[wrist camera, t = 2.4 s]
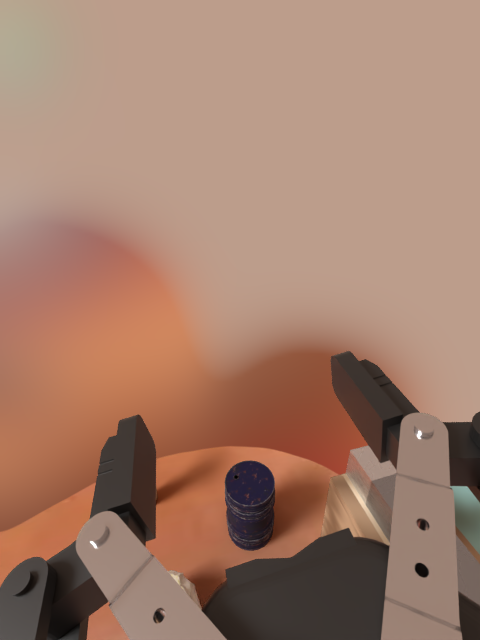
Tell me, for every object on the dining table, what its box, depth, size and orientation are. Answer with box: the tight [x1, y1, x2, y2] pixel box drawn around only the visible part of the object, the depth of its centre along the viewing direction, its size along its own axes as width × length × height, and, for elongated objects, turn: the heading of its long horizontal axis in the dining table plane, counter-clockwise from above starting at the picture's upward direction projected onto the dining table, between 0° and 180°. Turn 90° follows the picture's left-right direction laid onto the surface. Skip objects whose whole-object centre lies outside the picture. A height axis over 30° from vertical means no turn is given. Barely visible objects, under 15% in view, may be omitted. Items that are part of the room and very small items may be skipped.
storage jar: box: [225, 461, 275, 551], centre depth 68 cm, size 10×10×15 cm
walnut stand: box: [321, 473, 480, 564], centre depth 43 cm, size 18×16×38 cm
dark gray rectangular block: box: [346, 445, 480, 605], centre depth 28 cm, size 28×4×4 cm, turn 15°
